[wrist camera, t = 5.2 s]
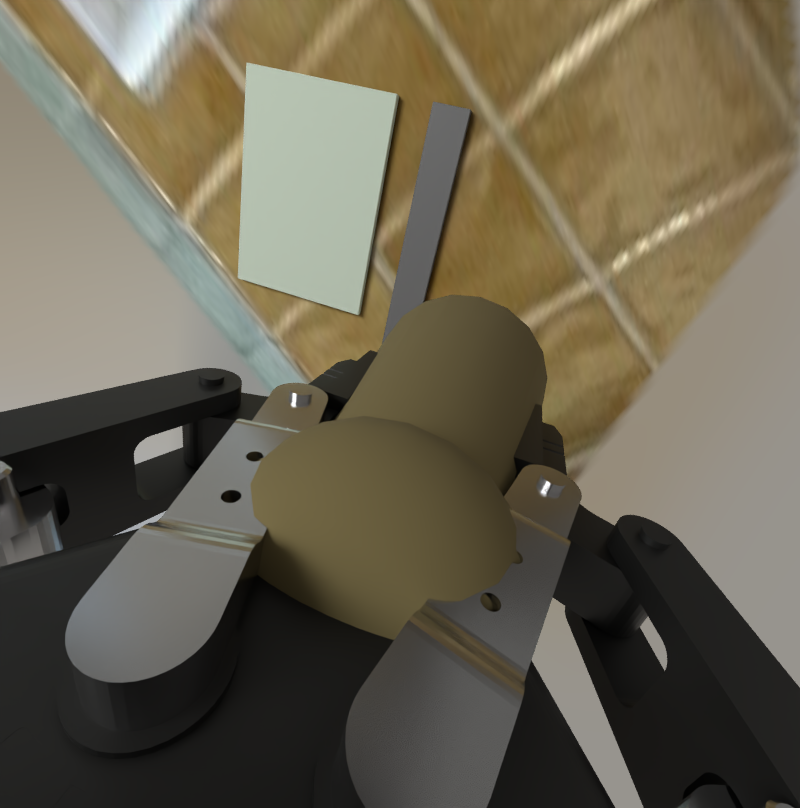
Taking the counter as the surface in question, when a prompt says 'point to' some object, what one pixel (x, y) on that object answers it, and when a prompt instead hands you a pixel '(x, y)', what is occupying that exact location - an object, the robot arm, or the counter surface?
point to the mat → (312, 184)
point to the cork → (407, 472)
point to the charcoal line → (428, 208)
